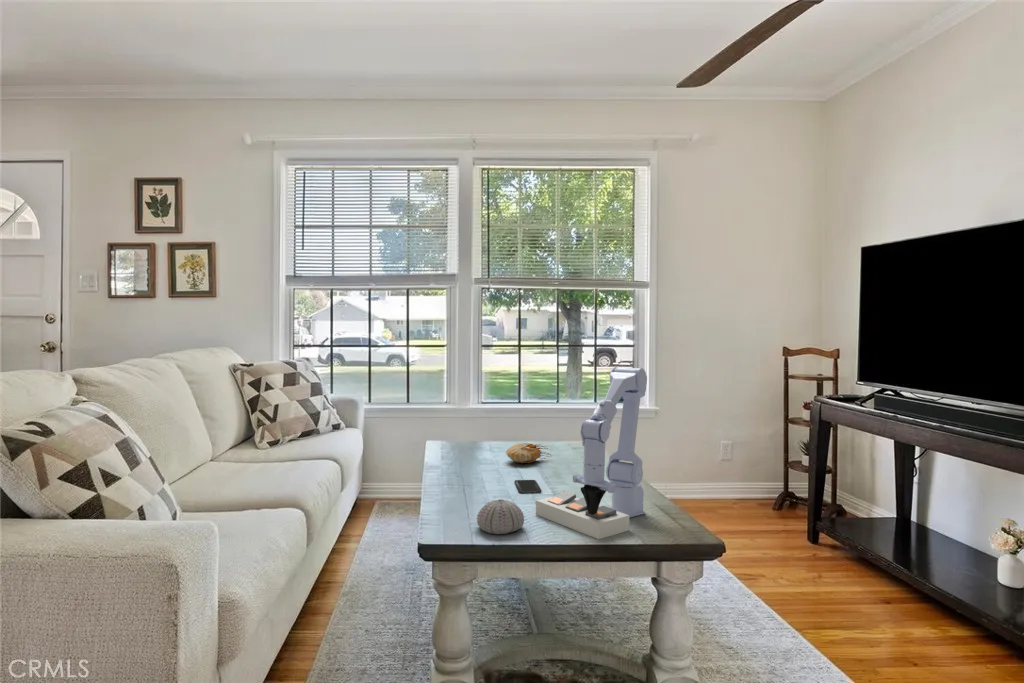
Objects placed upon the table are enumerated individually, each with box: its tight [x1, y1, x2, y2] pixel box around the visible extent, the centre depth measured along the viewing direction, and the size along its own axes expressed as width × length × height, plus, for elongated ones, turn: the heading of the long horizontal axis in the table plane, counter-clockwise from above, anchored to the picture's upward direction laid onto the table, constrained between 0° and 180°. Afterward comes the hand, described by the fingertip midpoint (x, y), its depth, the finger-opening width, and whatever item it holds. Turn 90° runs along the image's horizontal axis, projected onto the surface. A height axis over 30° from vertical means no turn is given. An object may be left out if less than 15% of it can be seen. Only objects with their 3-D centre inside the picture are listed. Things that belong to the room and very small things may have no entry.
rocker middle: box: [566, 497, 588, 512], centre depth 169 cm, size 7×5×2 cm
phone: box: [514, 479, 542, 494], centre depth 206 cm, size 8×1×15 cm
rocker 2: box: [585, 505, 616, 520], centre depth 162 cm, size 7×5×2 cm
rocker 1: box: [548, 490, 577, 505], centre depth 175 cm, size 7×5×2 cm
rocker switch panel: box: [535, 495, 630, 540], centre depth 169 cm, size 12×26×4 cm, turn 37°
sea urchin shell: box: [476, 498, 525, 535], centre depth 163 cm, size 13×14×8 cm
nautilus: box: [505, 442, 553, 464], centre depth 245 cm, size 8×22×15 cm
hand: (592, 513), depth 160 cm, fingers closed, pressing on rocker 2
